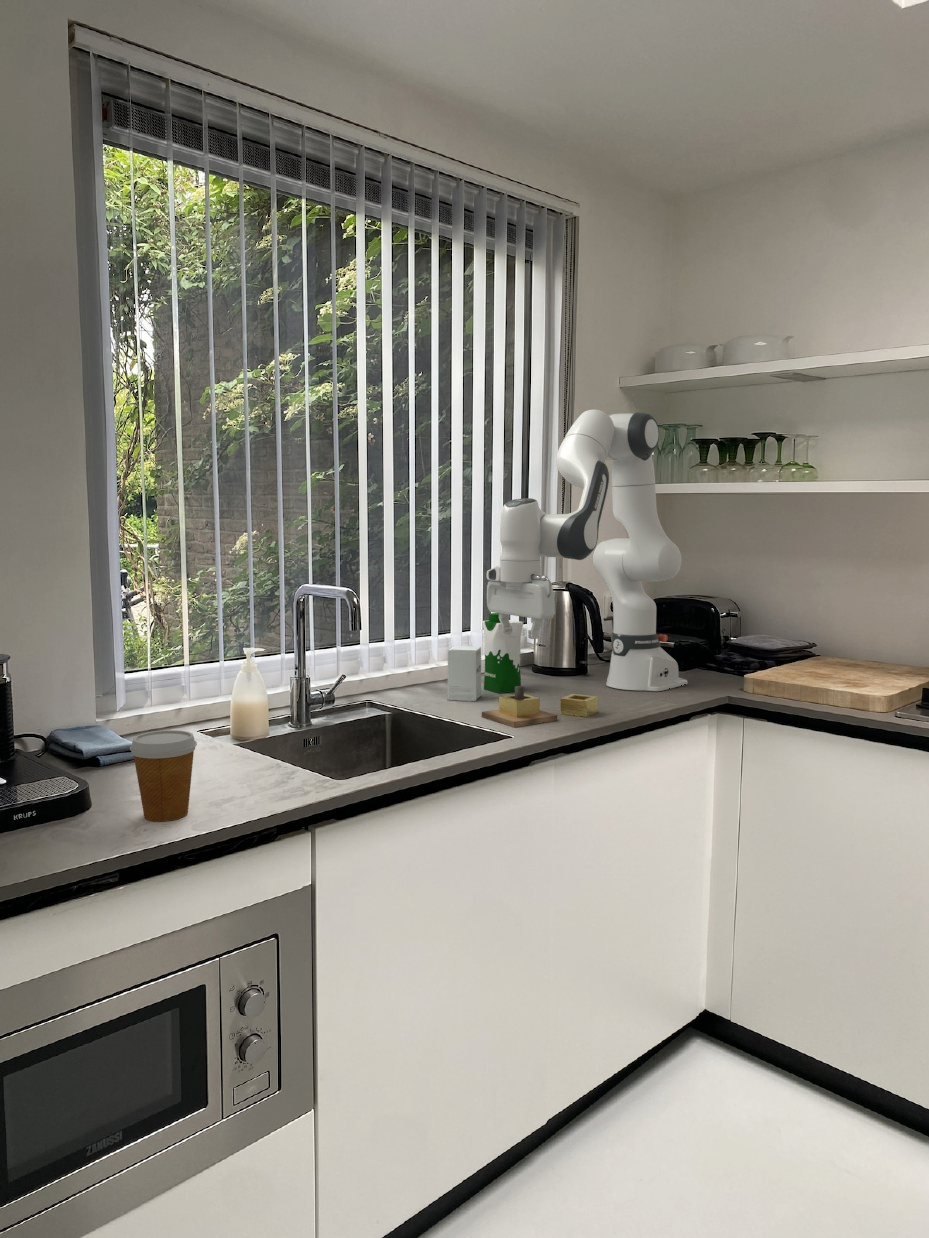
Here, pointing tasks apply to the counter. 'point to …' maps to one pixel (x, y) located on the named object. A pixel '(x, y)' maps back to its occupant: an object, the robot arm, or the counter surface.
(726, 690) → the counter surface
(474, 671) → the supplement box
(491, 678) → the milk carton
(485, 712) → the stand
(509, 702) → the link
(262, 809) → the counter surface
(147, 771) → the disposable coffee cup
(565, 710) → the link
